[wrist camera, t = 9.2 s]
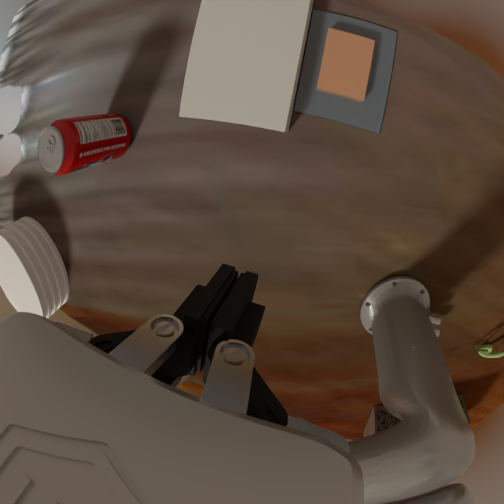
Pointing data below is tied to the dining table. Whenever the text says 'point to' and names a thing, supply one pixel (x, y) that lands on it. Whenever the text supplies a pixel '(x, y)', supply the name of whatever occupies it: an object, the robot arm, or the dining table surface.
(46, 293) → the plate stack
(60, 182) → the dining table surface
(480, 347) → the figurine
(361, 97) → the tile
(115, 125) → the soda can
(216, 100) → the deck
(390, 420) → the tissue box cover
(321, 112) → the mat
